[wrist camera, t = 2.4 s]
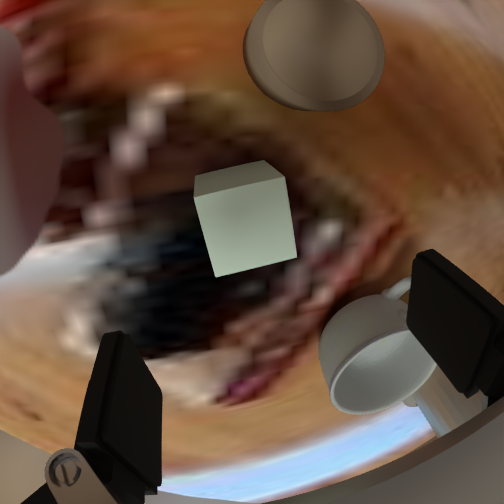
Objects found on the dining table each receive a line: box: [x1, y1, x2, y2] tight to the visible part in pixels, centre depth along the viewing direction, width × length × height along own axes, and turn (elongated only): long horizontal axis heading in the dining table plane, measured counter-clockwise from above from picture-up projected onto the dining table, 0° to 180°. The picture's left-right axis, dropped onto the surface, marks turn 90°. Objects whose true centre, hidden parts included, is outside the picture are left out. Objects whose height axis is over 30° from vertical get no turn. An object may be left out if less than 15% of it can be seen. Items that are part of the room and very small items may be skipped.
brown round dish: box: [243, 0, 385, 112], centre depth 17 cm, size 9×9×4 cm
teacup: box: [319, 276, 437, 415], centre depth 26 cm, size 14×11×8 cm
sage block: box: [194, 160, 297, 277], centre depth 20 cm, size 5×5×6 cm
